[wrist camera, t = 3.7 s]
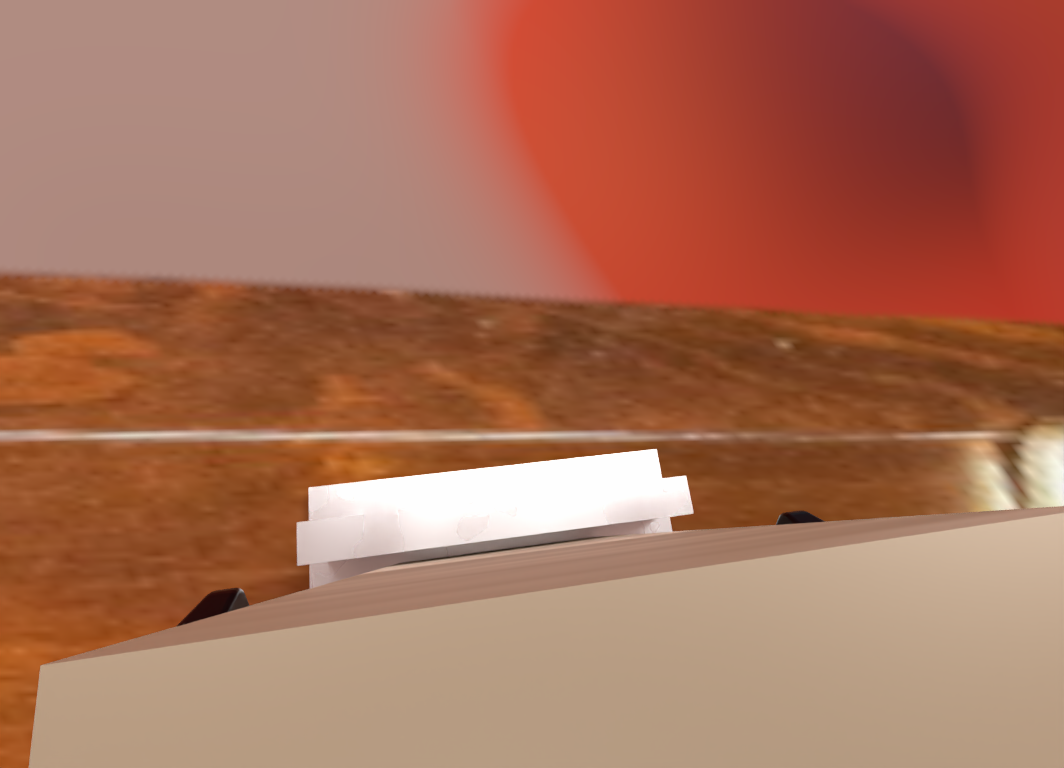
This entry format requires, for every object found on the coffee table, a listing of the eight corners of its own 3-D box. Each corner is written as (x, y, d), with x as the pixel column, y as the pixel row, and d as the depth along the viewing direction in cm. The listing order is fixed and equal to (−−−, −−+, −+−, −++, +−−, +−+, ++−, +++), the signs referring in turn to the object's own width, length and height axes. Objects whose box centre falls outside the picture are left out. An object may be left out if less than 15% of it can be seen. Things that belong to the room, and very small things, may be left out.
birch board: (606, 605, 16) (1312, 895, 3) (402, 637, 15) (-38, 1320, 2) (595, 536, 17) (1139, 500, 3) (398, 563, 16) (39, 664, 2)
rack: (747, 963, 14) (836, 1093, 11) (322, 1082, 13) (270, 1281, 9) (650, 451, 18) (694, 430, 15) (313, 489, 16) (275, 475, 13)
